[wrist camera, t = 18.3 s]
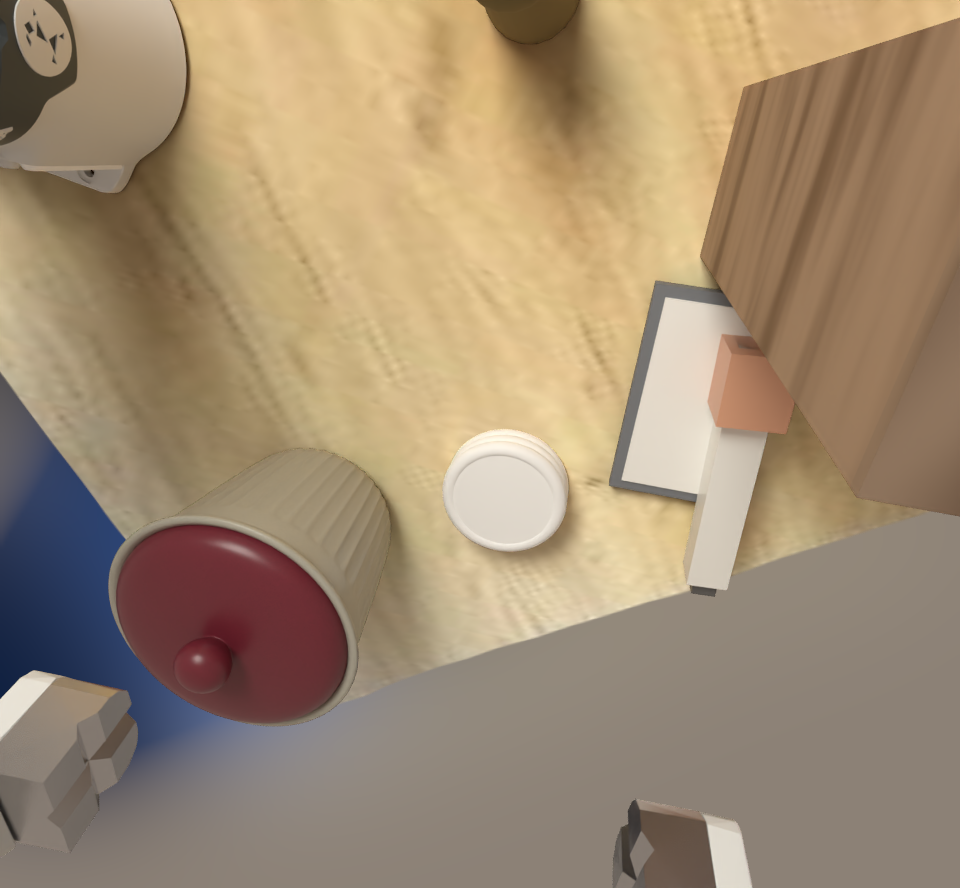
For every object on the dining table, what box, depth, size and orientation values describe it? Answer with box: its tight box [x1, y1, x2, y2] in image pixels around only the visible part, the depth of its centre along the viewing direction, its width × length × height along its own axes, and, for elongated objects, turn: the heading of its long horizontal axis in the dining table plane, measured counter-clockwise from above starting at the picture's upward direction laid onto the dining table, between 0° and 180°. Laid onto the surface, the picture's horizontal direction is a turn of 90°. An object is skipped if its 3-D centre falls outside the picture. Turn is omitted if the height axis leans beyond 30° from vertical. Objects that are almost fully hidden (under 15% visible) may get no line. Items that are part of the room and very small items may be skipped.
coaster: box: [442, 429, 569, 552], centre depth 52 cm, size 10×10×4 cm
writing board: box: [609, 281, 752, 502], centre depth 47 cm, size 10×16×1 cm, turn 174°
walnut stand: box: [700, 18, 960, 516], centre depth 26 cm, size 9×10×32 cm
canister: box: [109, 448, 391, 726], centre depth 49 cm, size 18×18×21 cm
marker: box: [683, 334, 795, 596], centre depth 46 cm, size 4×20×4 cm, turn 178°
